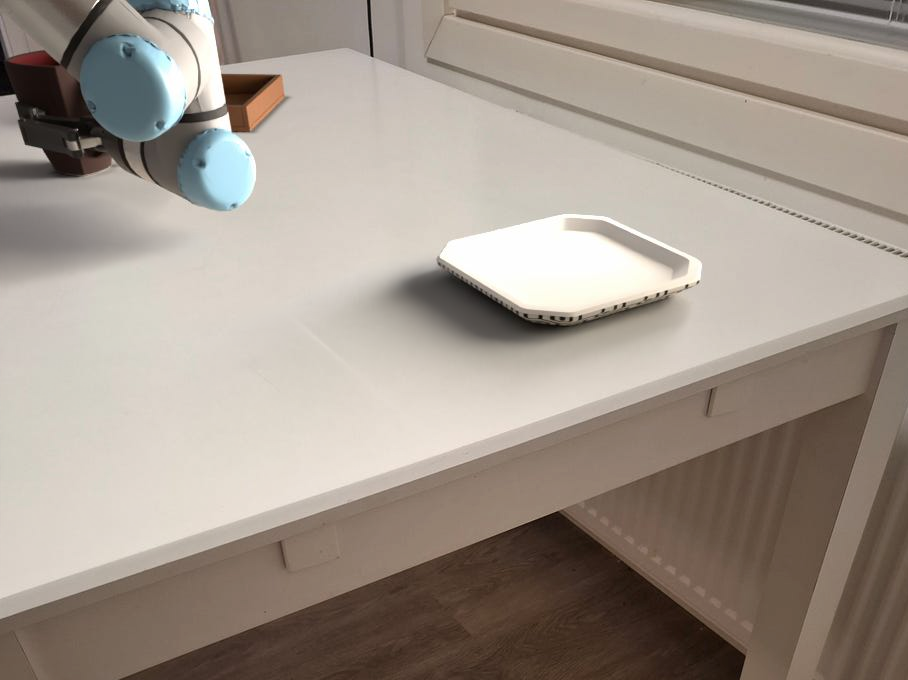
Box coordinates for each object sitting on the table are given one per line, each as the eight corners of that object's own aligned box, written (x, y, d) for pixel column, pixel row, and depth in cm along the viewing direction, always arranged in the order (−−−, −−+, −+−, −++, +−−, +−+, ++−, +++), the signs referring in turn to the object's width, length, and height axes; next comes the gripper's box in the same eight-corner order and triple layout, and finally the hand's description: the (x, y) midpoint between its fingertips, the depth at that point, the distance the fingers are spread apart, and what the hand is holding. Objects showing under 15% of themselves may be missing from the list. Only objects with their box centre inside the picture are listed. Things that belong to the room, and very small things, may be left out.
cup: (81, 153, 119) (53, 46, 111) (165, 167, 115) (142, 56, 107) (24, 173, 112) (-11, 60, 104) (111, 188, 108) (82, 72, 100)
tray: (87, 128, 128) (81, 104, 126) (138, 95, 142) (133, 72, 140) (250, 131, 126) (246, 106, 124) (285, 97, 141) (281, 74, 138)
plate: (420, 270, 89) (419, 246, 88) (586, 229, 97) (588, 207, 96) (541, 348, 76) (542, 323, 75) (721, 294, 84) (725, 270, 83)
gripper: (65, 204, 95) (-17, 159, 107) (247, 160, 107) (155, 124, 119) (42, 124, 90) (-42, 86, 102) (235, 88, 101) (140, 57, 113)
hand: (63, 107), depth 110 cm, fingers closed on cup, 10 cm apart
